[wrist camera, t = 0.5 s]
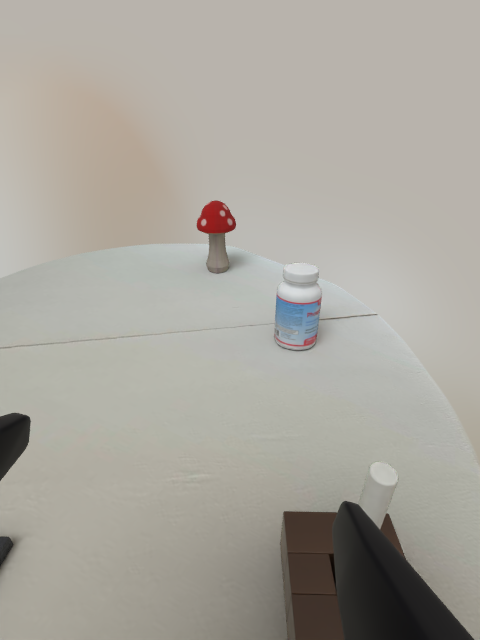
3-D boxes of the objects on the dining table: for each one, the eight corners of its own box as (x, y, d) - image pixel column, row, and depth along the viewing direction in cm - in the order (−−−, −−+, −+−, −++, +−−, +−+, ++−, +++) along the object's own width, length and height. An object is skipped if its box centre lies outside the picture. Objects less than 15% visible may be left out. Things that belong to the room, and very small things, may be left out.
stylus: (352, 617, 20) (403, 485, 13) (333, 616, 20) (374, 484, 13) (347, 593, 21) (392, 460, 14) (328, 592, 21) (365, 460, 14)
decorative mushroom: (202, 261, 79) (197, 197, 72) (236, 261, 79) (236, 197, 72) (197, 276, 70) (191, 205, 63) (236, 276, 70) (235, 204, 63)
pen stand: (422, 689, 17) (445, 662, 15) (291, 684, 17) (297, 658, 15) (376, 545, 23) (389, 513, 21) (280, 542, 23) (283, 510, 21)
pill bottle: (313, 355, 44) (323, 278, 39) (270, 348, 46) (273, 273, 40) (317, 333, 49) (326, 262, 44) (278, 327, 51) (282, 259, 45)
